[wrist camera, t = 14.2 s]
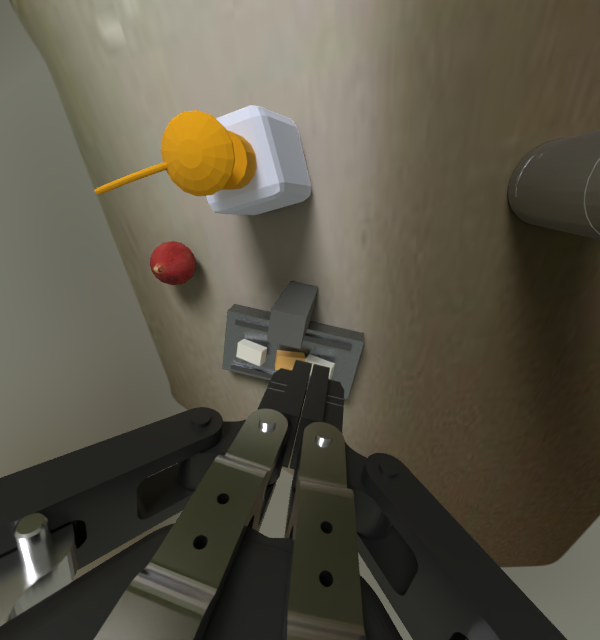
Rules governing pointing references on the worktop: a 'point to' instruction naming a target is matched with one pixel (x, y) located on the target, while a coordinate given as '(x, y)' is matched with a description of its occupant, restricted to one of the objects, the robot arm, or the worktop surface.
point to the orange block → (287, 359)
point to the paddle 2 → (320, 363)
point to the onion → (172, 263)
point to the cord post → (292, 315)
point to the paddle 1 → (251, 352)
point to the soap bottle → (233, 160)
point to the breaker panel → (317, 341)
